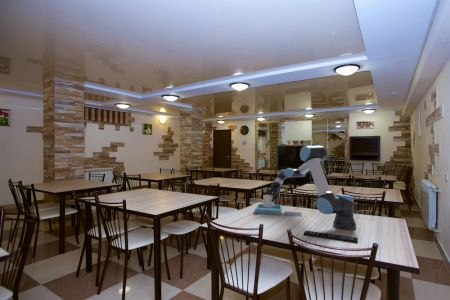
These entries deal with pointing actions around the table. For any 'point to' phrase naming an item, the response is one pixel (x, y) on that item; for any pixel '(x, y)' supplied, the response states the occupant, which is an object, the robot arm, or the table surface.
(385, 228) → the table surface
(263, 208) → the tray
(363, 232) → the table surface
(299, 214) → the dock mat
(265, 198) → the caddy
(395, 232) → the table surface
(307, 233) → the black keyboard
